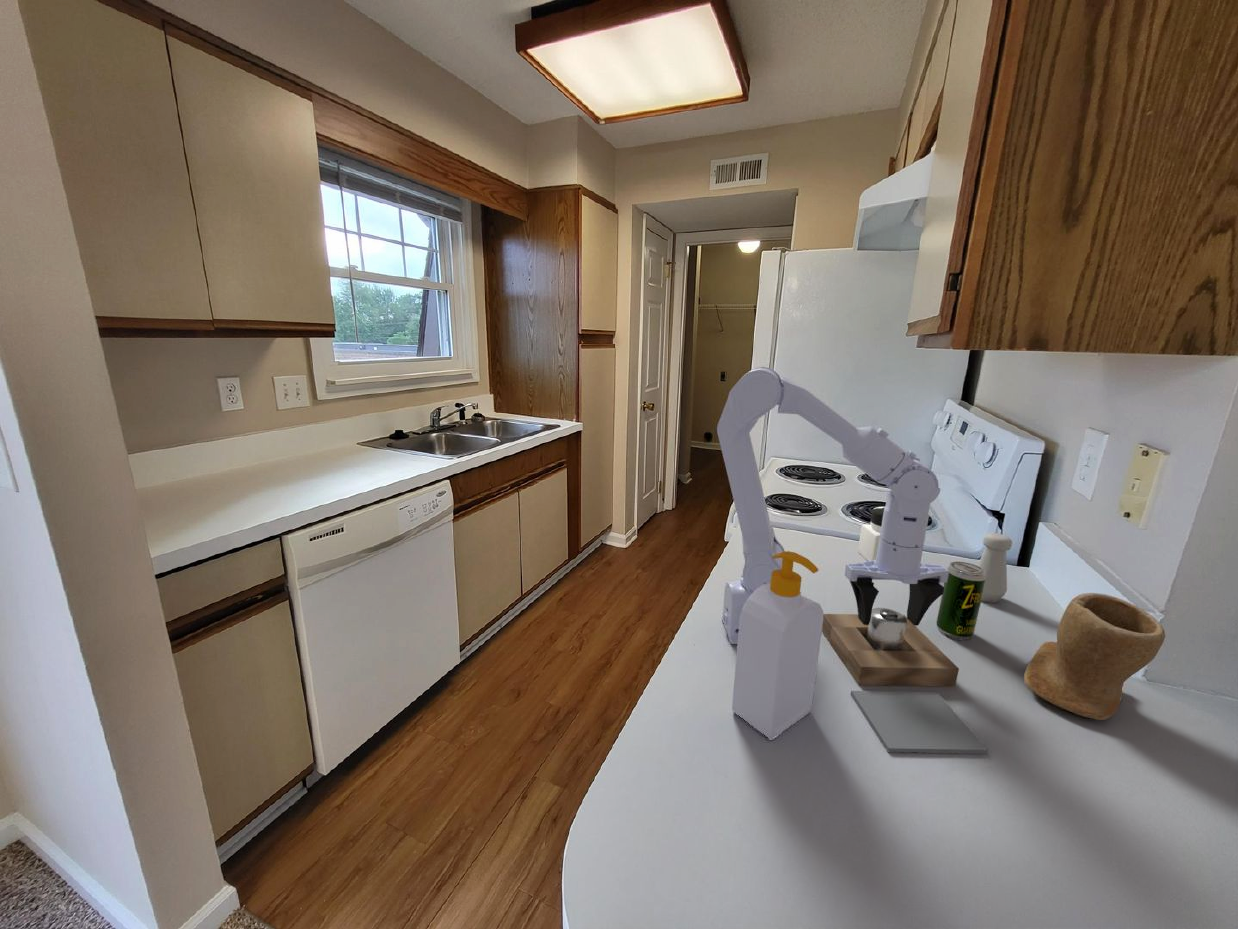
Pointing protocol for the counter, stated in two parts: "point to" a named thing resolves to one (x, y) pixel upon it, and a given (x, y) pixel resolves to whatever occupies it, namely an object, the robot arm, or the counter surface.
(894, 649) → the grey round-capped cylinder
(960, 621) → the green soda can
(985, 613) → the counter surface
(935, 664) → the bore block
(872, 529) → the medicine bottle
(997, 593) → the salt shaker
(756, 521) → the robot arm
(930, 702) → the rubber mat
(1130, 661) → the tan boot
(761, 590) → the soap bottle
